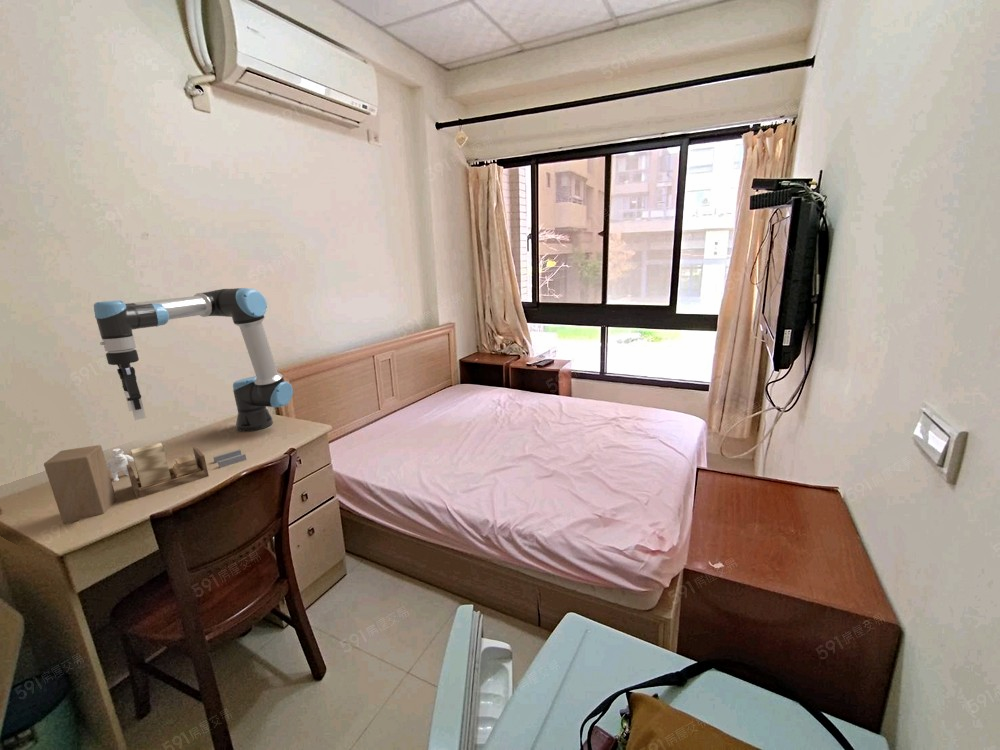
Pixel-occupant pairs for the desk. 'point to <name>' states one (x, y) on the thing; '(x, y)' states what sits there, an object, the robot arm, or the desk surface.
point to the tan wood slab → (151, 464)
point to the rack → (169, 482)
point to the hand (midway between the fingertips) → (137, 414)
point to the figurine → (118, 463)
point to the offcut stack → (185, 466)
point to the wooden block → (80, 483)
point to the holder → (229, 458)
